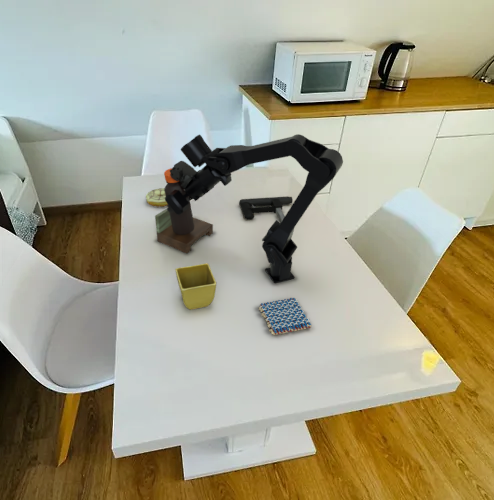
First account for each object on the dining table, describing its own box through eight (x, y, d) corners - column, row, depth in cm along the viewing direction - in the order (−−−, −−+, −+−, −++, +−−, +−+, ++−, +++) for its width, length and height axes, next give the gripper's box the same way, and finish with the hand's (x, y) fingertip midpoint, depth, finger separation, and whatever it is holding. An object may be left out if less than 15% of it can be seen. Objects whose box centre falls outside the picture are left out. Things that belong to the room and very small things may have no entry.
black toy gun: (303, 217, 134) (290, 193, 146) (246, 220, 131) (237, 196, 143) (301, 224, 136) (289, 200, 148) (245, 228, 133) (237, 203, 146)
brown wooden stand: (212, 233, 129) (212, 208, 123) (187, 253, 119) (185, 227, 114) (184, 222, 134) (183, 198, 129) (157, 241, 125) (154, 215, 119)
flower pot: (182, 317, 97) (181, 289, 92) (176, 294, 104) (174, 267, 99) (216, 310, 99) (217, 283, 94) (208, 288, 106) (208, 262, 101)
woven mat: (294, 300, 103) (295, 295, 101) (312, 329, 94) (313, 324, 93) (257, 307, 100) (257, 301, 99) (272, 338, 92) (273, 332, 91)
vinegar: (170, 226, 123) (158, 169, 111) (190, 220, 125) (180, 164, 112) (176, 238, 118) (164, 180, 106) (197, 231, 120) (187, 173, 107)
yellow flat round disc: (148, 195, 150) (147, 186, 148) (176, 195, 151) (175, 186, 148) (144, 208, 142) (143, 199, 140) (174, 208, 142) (173, 199, 140)
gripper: (204, 144, 112) (175, 172, 122) (168, 167, 98) (138, 197, 109) (228, 175, 113) (197, 200, 124) (195, 202, 100) (163, 227, 110)
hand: (175, 205), depth 117 cm, fingers closed on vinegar, 7 cm apart
